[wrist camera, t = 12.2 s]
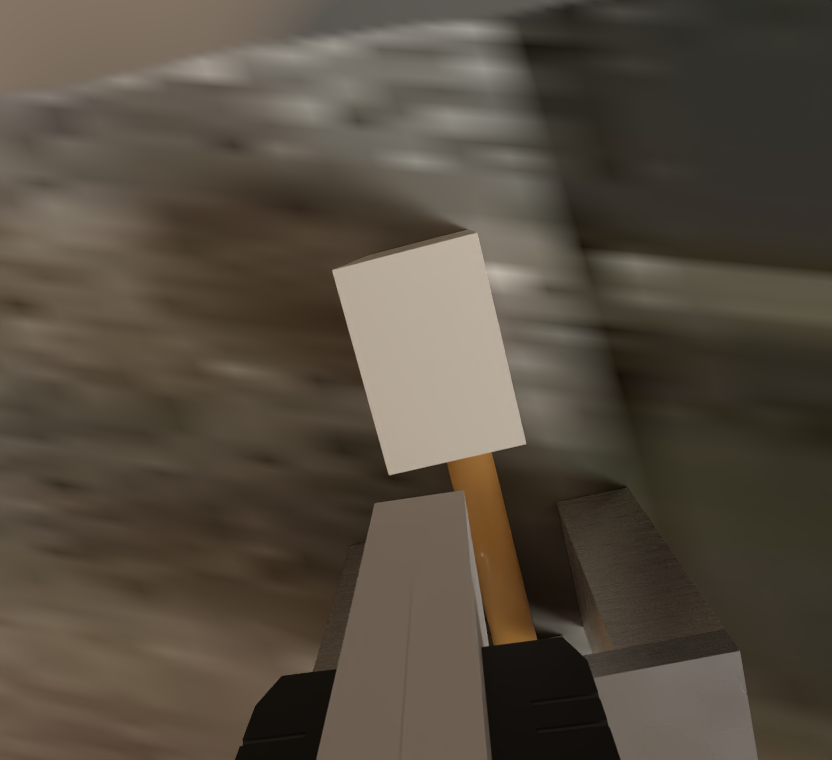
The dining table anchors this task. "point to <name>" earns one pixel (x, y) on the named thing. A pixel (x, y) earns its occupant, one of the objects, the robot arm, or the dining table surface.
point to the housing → (632, 637)
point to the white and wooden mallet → (443, 392)
